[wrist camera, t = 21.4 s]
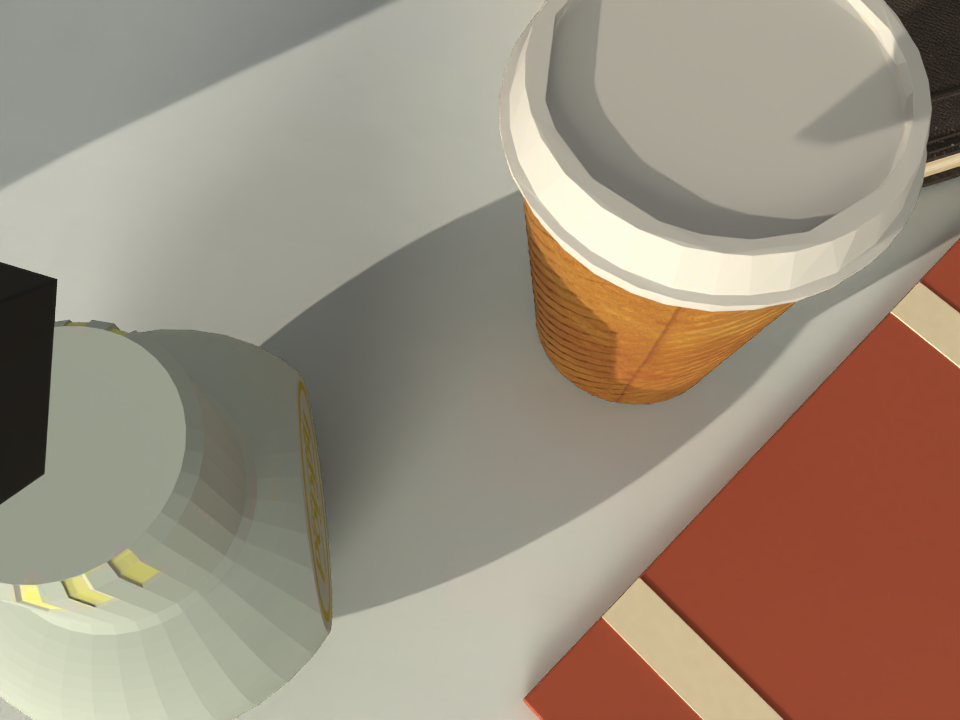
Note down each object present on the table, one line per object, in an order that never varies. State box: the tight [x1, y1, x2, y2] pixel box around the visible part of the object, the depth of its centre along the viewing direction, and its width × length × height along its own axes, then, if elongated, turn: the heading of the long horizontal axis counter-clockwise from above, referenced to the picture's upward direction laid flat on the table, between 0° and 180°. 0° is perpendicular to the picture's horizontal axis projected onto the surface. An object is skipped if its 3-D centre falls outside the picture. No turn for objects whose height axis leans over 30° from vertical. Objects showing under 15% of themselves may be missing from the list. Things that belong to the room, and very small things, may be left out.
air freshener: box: [0, 320, 332, 720], centre depth 22 cm, size 11×8×10 cm
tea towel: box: [524, 239, 960, 720], centre depth 26 cm, size 14×22×1 cm, turn 134°
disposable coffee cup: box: [499, 0, 932, 404], centre depth 24 cm, size 10×10×12 cm
